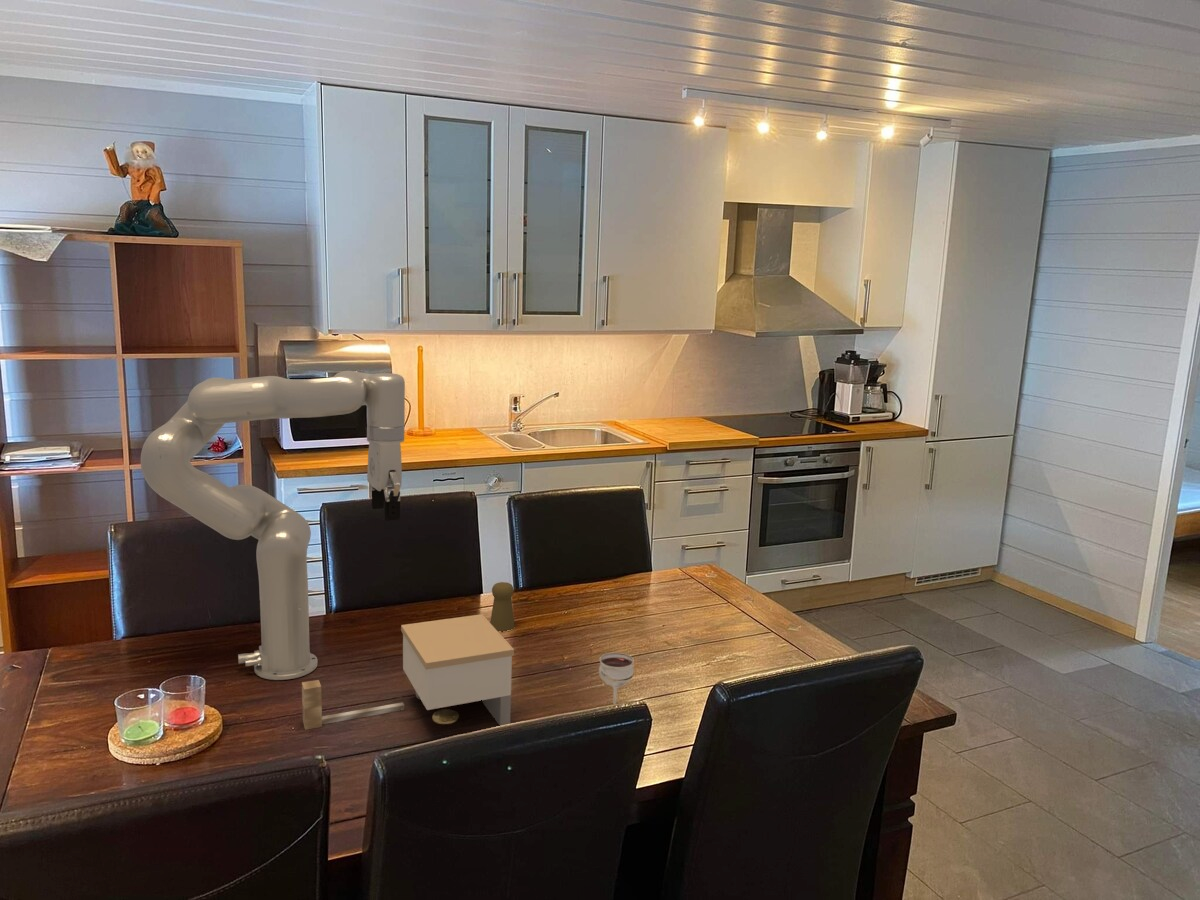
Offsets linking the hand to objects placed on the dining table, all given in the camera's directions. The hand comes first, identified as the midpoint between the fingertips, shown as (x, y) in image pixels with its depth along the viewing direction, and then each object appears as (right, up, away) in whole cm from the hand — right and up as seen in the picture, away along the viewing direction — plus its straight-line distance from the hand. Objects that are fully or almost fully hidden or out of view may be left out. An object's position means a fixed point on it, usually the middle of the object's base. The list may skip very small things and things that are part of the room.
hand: (385, 513), depth 183 cm
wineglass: (+48, -39, -14) cm, 63 cm away
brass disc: (+15, -38, -16) cm, 44 cm away
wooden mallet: (-1, -37, -18) cm, 41 cm away
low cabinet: (+17, -37, -14) cm, 43 cm away
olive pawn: (+21, -30, +28) cm, 46 cm away
